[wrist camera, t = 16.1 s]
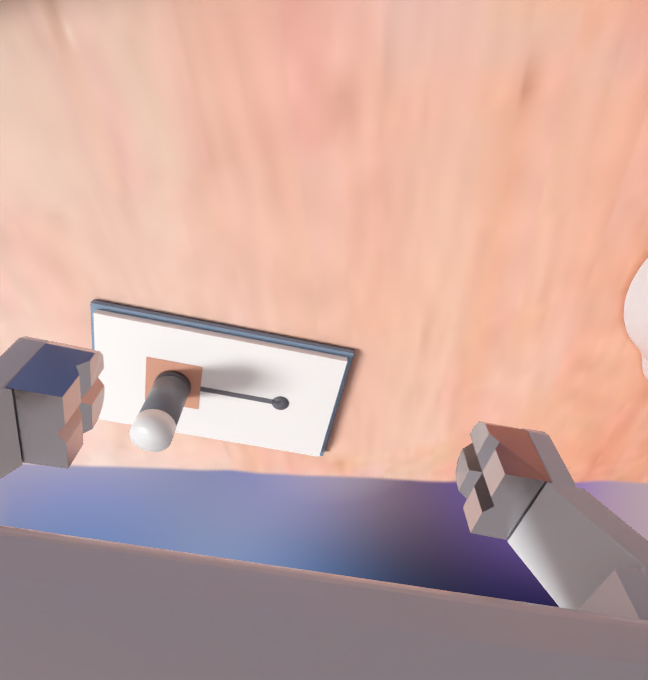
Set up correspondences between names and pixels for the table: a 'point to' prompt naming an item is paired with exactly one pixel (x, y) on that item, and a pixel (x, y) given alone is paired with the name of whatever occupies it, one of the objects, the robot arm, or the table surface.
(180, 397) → the white-topped grey cylinder
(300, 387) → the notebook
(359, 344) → the table surface
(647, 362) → the robot arm
